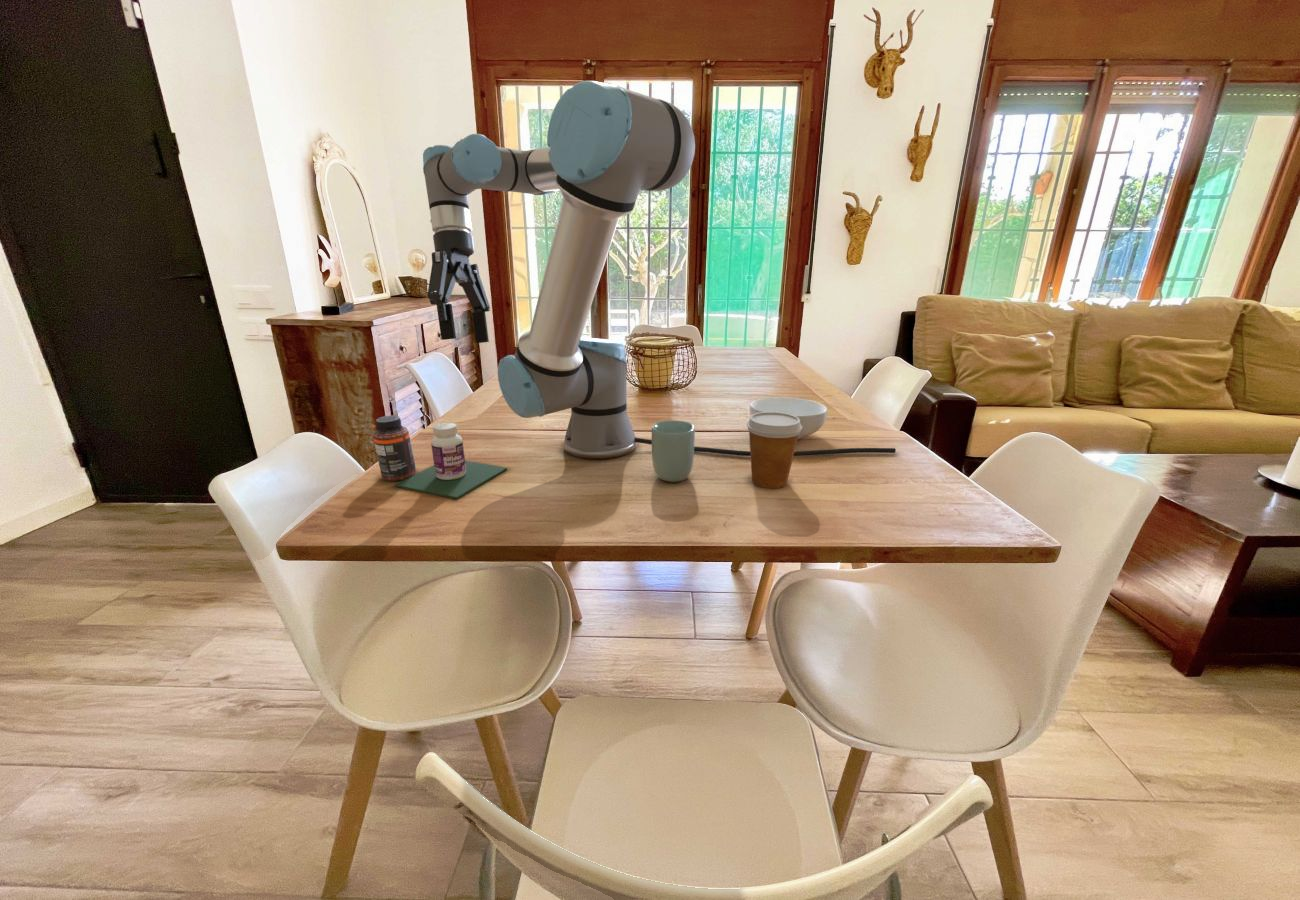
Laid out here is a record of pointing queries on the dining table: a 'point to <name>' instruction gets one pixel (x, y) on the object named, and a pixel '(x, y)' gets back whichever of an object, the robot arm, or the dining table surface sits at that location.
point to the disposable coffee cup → (772, 447)
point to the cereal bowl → (794, 411)
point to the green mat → (451, 488)
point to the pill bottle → (448, 452)
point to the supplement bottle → (393, 449)
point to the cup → (673, 449)
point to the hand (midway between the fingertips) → (466, 341)
